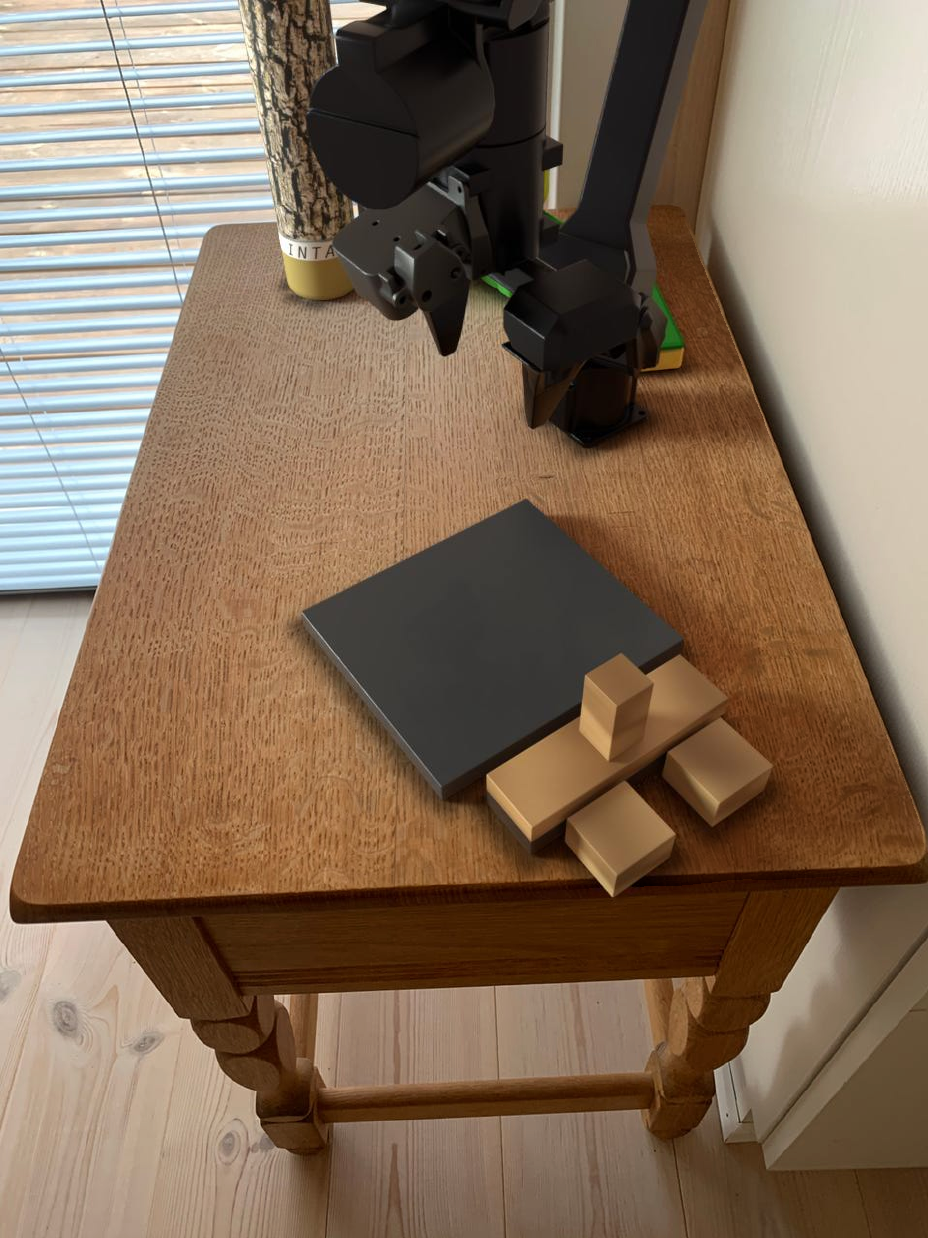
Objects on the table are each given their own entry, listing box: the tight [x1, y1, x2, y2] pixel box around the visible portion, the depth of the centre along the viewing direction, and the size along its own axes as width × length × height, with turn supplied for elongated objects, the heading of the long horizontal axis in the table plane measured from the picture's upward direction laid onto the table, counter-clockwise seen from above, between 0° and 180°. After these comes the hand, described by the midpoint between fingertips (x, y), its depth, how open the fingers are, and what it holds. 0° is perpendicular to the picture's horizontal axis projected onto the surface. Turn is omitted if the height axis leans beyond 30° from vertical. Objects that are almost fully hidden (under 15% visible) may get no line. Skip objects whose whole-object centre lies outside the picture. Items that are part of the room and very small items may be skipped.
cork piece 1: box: [564, 781, 677, 898], centre depth 52 cm, size 4×4×2 cm
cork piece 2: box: [661, 717, 774, 828], centre depth 54 cm, size 4×4×2 cm
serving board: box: [300, 498, 685, 802], centre depth 62 cm, size 18×16×2 cm
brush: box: [486, 653, 729, 857], centre depth 53 cm, size 14×4×8 cm, turn 125°
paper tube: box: [237, 0, 355, 301], centre depth 82 cm, size 7×7×25 cm
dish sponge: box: [640, 280, 686, 372], centre depth 85 cm, size 7×14×2 cm, turn 7°
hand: (490, 388), depth 60 cm, fingers open, 9 cm apart
